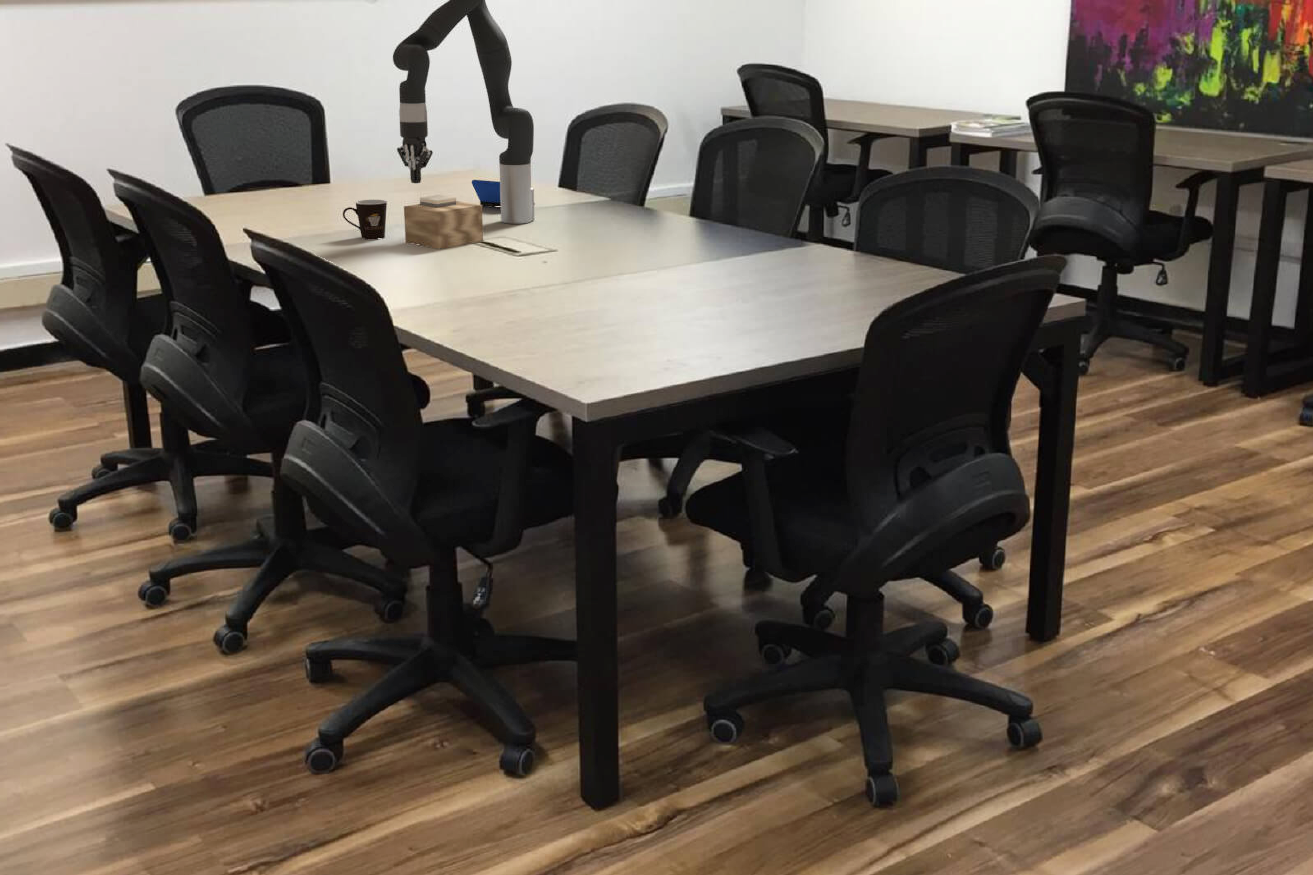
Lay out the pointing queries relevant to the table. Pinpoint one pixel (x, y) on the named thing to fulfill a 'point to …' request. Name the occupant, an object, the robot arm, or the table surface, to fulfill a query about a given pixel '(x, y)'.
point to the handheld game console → (488, 192)
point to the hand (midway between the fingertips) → (415, 182)
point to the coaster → (438, 201)
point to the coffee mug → (370, 218)
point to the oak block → (443, 225)
